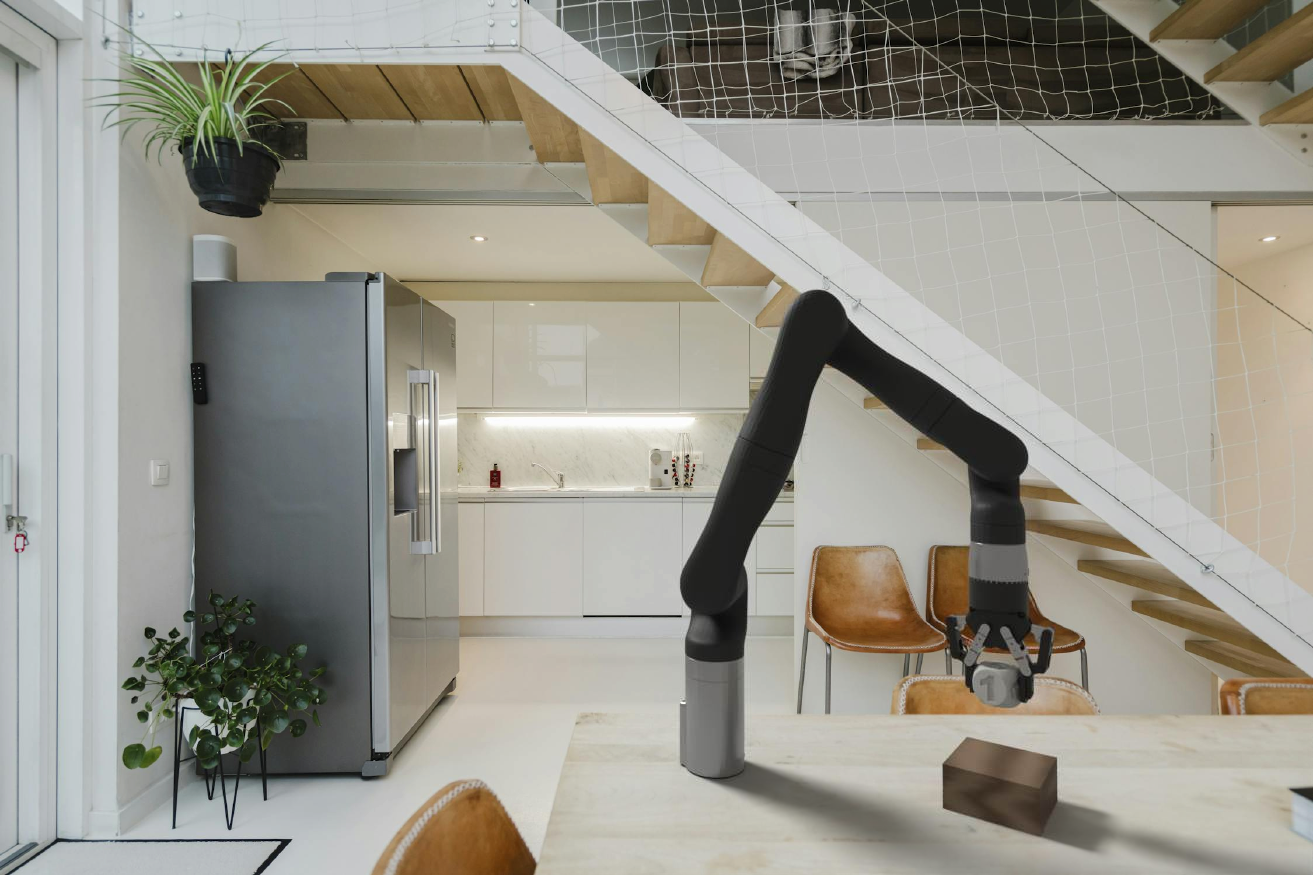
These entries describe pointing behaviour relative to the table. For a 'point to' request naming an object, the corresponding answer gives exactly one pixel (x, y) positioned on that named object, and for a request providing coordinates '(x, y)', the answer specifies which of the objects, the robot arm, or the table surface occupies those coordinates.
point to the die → (997, 684)
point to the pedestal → (1001, 784)
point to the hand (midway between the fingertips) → (999, 695)
